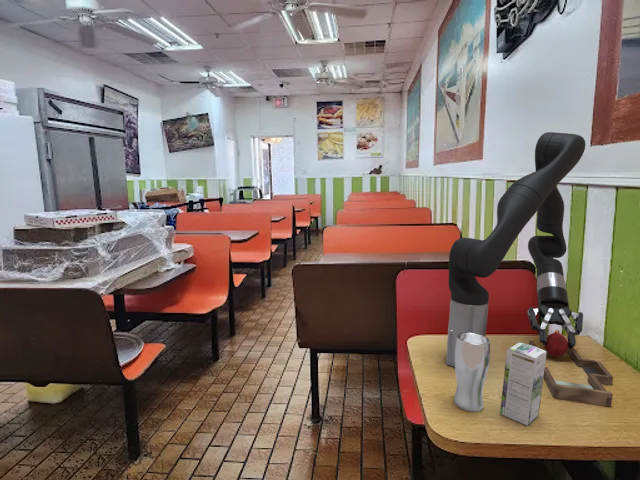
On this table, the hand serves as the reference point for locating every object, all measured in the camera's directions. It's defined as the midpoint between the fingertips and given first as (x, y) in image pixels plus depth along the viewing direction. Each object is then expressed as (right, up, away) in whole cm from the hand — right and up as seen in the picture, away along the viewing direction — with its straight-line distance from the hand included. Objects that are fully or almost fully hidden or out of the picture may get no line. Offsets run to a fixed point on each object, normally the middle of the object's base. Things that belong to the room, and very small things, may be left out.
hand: (558, 345), depth 110 cm
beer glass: (-32, -7, -22) cm, 40 cm away
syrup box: (-23, -8, -26) cm, 35 cm away
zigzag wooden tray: (-2, -5, -6) cm, 8 cm away
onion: (0, -4, +2) cm, 5 cm away
